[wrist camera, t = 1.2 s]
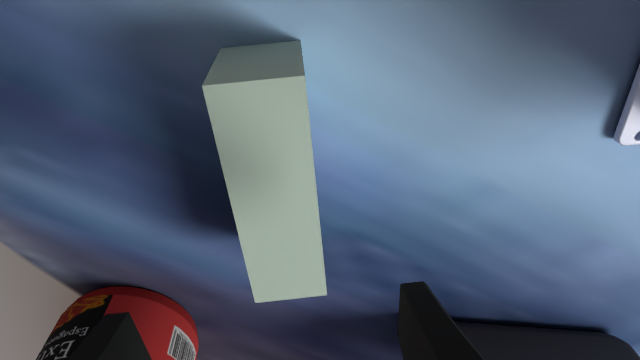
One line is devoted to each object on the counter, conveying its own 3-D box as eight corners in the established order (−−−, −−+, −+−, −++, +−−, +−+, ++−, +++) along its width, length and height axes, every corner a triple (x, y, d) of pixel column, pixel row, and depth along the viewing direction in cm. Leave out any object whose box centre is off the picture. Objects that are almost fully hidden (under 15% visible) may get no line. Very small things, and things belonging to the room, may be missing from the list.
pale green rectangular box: (300, 39, 16) (304, 75, 13) (319, 229, 22) (326, 295, 18) (221, 47, 16) (201, 85, 13) (260, 236, 22) (255, 302, 18)
